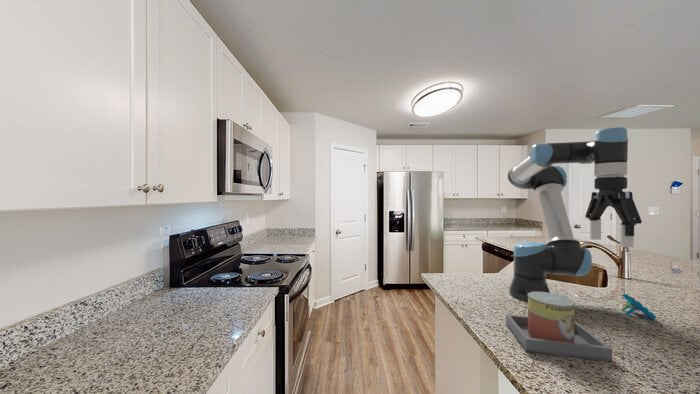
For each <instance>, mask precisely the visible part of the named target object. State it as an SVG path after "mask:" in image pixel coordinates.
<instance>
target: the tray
mask: <svg viewBox="0 0 700 394" xmlns="http://www.w3.org/2000/svg"><path fill="white" fill-rule="evenodd" d="M505 325H506V327H507V328H508V330H509V331H510V332H511V334H512V335H513V336H514V338H515V339H516V341H517V342H518V343H519V345H520V346H521V347H522V349H523V350H524V351H525V352H527V353H534V354H543V355H551V356H558V357H566V358H572V359H573V358H575V359H582V360H590V361H591V360H592V361H599V362H604V363H605V362H606V363H613V348H611V347H610V346H609V345H608V344H607V343H605V342H604V341H603V340H601V339H600V338H598V337H597V336H596V335H594V333H592V332H591V331H589V330H587V329H586V328H585V327H584V326H582V325H581V324H579V322H577V321H576V320H574V343H571V342H562V341H553V340H544V339H535V338H531V337H530V336H529V335H528V315H527V316H524V315H514V314H507V313H506V314H505Z"/></svg>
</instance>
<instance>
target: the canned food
mask: <svg viewBox="0 0 700 394" xmlns="http://www.w3.org/2000/svg"><path fill="white" fill-rule="evenodd" d="M575 304H576V303H575V301H574V300H573V299H571V298H569V297H567V296H565V295H562V294H558V293H554V292H550V293H549V292H539V291H535V292H529V293H528V301H527V316H528V335H529V336H530V337H531V338H535V339H544V340H553V341H562V342H571V343H574V321H575Z"/></svg>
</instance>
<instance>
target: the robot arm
mask: <svg viewBox="0 0 700 394" xmlns="http://www.w3.org/2000/svg"><path fill="white" fill-rule="evenodd" d="M628 148H629V138H628V130H627V128H625V127H619V126H618V127H608V128H602V129H599V130H597V131H595V134H594V136H593V140H590V141H589V140H588V141H571V142H543V143H537V144H533V145H532V146H531V148H530V151H529V156H528V157H527V158H526V159H524V160H523V161H522V162H521V163H519V164H516V165H514V166H512V167H511V168H510V169H509V171H508V172H507V180H508V182H509V183H510V184H511V185H513V186H514V187H516V188H517V189H522V190H523V189H524V190H533V193H534V195H536V196H538V198H539V202H540V206H541V210H542V213H543V219H544V223H545V228H546V232H547V235H548V241H547V242H546V243H545V242H543V241H542V242H540V241H524V242H519V243H517V244H515V246H514V248H513V278H512V280H511V283H510V285H509V288H508V289H509V290H508V293H509V295H510V296H512V297H514V298H516V299H518V300H521V301H525V302H528V293H529V292H535V291H539V292H549V293H551V291H550V288H549V286H548V285H549V284H548V283H547V275H559V276H560V275H561V276H562V275H563V276H571V277H574V276H577V277H584V276H586V275H587V274H589V272H590V271H591V267H592V264H593V263H592V262H593V259H592V254H591V251H590V250H589V249H588V248H587V247H582V245H581V243H580V240H577V239H575V237H574V234H573V230H572V227H571V223H570V219H569V216H568V213H567V209H566V206H565V205H566V204H565V202H564V198H563V196H562V192H563V191H564V189H565V187H566V186H567V183H568V180H567V179H568V176H567V173H566V171H565V169H564V168H563V167H561V166H559V165H554V164H583V165H585V164H587V165H589V164H593V163H594V171H593V172H594V175H593V176H594V177H595V178H594V180H593V181H594V185H593V186H594V187H593V188H594V189H595V190H598V191H597V192H596V191H592V192H591V197H590V201H589V205H588V207H587V210H586V212H585V213H586V214H585V216H584V217H585V219H588V220H589V221H590V222H589V223H590V224H589V228H590V229H589V230H590V231H589V234H590V236H589V237H590V240H592V241H593V240H595V241H596V240H598V241H601V240H602V219H601V217H602V216H603V214H604V213H605V211H606V209H607V208H608V207H611V208H613V210H614V211H615V212H616V214H617V215H618V217H619V219H620V221H621V223H620V243H619V244H620V245H619V246H620V247H622V248H634V246H635V245H634V243H635V242H634V239H635V238H634V237H635V226H636V225H638V224H642V221H643V220H642V219H641V216H640V213H639V211H638V208H637V206H636V204H635V201H634V197H633V192H632V191H623V190H625V189H627V188H628V177H626V176H627V175H628V157H629V156H628V150H629V149H628Z"/></svg>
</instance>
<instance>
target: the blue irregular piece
mask: <svg viewBox="0 0 700 394" xmlns="http://www.w3.org/2000/svg"><path fill="white" fill-rule="evenodd" d="M622 297H623V298H624V300H625V306H623V307H621V309H620V310H621V311H623V312H624V311H625V312H624V314H625V315H627V316H629V315H631V314H632V313H634V312H635V311H636V312H637V311H639V312H642V314H643V315H645V316H647V317H648V318H650V319H653V320H655V319H657V316H656V315H655V314H654V313H653V312H652V311H650V310H649V309H648V308H647V307H646V306H644V305H643V304H642V302H640V301H638V300H636V299H635V298H634V297H632V296H629V295H628V294H627V293H623V294H622ZM628 308H629V309H628ZM626 309H628V310H627V311H626Z"/></svg>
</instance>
